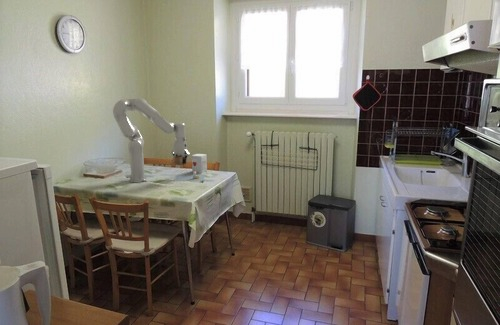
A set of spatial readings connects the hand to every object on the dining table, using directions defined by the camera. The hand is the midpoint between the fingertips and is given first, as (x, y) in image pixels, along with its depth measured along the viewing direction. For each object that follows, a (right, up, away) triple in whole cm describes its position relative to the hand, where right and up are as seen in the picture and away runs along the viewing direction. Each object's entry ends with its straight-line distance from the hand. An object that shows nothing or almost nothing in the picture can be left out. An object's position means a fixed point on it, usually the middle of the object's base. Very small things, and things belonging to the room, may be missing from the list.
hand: (180, 162), depth 264 cm
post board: (+7, -12, 0) cm, 14 cm away
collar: (0, -1, 0) cm, 1 cm away
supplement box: (+12, -8, +19) cm, 24 cm away
